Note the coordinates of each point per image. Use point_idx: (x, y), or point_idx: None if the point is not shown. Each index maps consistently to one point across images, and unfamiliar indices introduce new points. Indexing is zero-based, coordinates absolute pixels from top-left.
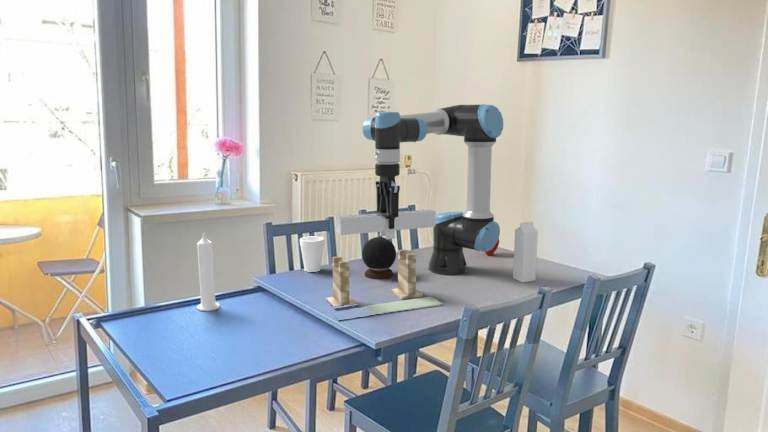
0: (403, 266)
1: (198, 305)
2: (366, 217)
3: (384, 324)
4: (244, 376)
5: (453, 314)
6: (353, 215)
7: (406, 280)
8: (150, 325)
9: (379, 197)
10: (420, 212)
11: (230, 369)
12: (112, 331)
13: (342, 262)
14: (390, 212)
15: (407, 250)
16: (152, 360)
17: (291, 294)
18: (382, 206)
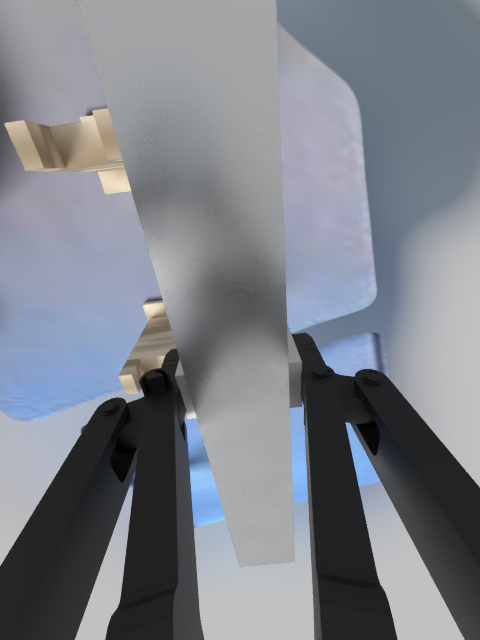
0: (106, 164)
1: None
2: (292, 496)
3: (313, 270)
4: None
5: (325, 72)
6: (238, 531)
7: None
8: (212, 502)
9: (89, 566)
10: (263, 57)
11: (360, 448)
12: (220, 520)
13: None
14: (378, 442)
15: (25, 122)
16: (305, 493)
17: (115, 386)
18: (187, 471)
